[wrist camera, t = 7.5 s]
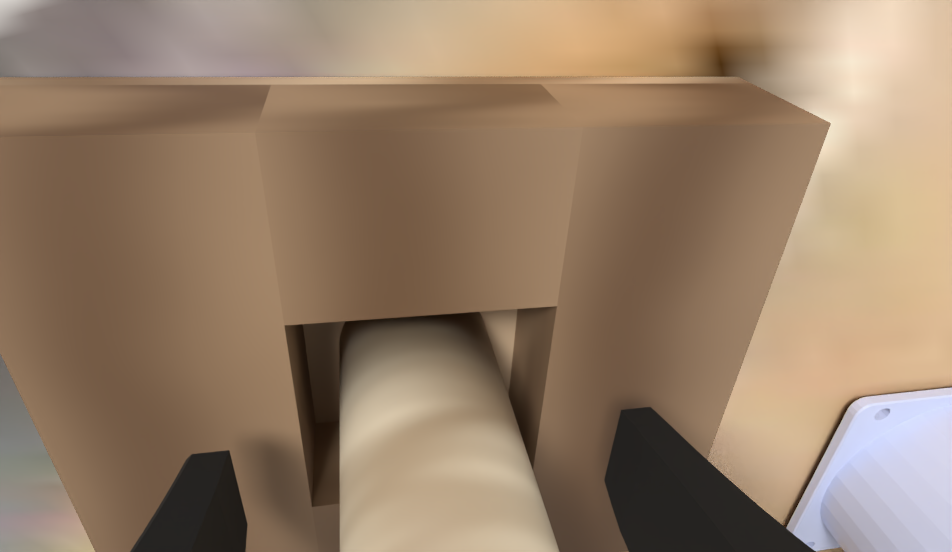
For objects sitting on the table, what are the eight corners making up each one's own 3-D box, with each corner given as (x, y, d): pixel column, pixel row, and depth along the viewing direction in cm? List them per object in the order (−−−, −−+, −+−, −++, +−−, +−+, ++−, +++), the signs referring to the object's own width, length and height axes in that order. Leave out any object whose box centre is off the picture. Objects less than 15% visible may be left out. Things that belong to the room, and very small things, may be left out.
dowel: (487, 275, 14) (620, 627, 7) (484, 388, 16) (586, 749, 9) (331, 288, 13) (324, 684, 7) (347, 404, 15) (353, 801, 9)
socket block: (737, 76, 13) (831, 123, 11) (633, 459, 19) (675, 543, 17) (1, 77, 11) (-103, 138, 8) (161, 516, 17) (130, 625, 14)
